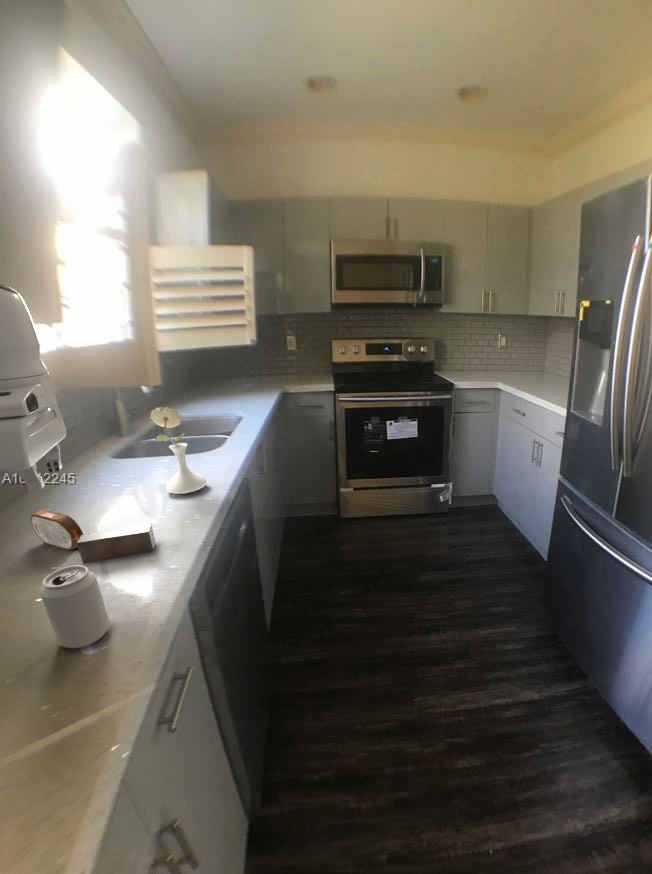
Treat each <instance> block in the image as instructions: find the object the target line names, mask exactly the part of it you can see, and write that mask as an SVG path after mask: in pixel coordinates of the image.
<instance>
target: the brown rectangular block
mask: <svg viewBox="0 0 652 874" xmlns="http://www.w3.org/2000/svg"><path fill="white" fill-rule="evenodd" d="M154 533H155V532H154V530H153V525H152V523H147V524H142V525H135V526H129V527H122V528H117V529H116V528H115V529H110V530H103V531H96V532H89V533H83V535H81V537H80V538H79V540H78V541H77V546H78V547H77V549H78V552H79V556H80V558H81V561H82V564H87V563H92V562H93V563H94V562H99V561H104V560H111V559H115V558H122V557H128V556H134V555H139V554H145V553H151V552H155V548H156V544H157V542H156V538H155V534H154Z"/></svg>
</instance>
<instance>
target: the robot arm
mask: <svg viewBox="0 0 652 874" xmlns="http://www.w3.org/2000/svg"><path fill="white" fill-rule="evenodd" d="M57 402H58V400H57V396H56V393H55V389H54V386H53V382H52V379H51V376H50V373H49V369H48V368H47V366H46V365H45V363H44V361H43V359H42V357H41V343H40V339H39V336H38V333H37V330H36V327H35V324H34V322H33V319H32V316H31V314H30V311H29V309H28V306H27V304H26V303H25V300H24V299H23V297H22V296H21V295H20V293H19V292H18V291H17V290H15V289H14V288H12V287H11V286H8V285H5V284H1V283H0V471H1V472H3V473H9V472H16V474H17V475H18V476H19V477H20V478H21V479H22V481H23V482H24V483H25V487H26V488H27V490H28V491H29V492H31V493H34V492H40V491H41V490H42V489H43V488H44V487H45V483H44V479H43V476H40V475H39V473H38V471H37V469H38V468H37V462H39V460H41V459H42V458H43V457H44V456H45V458H46V461H45V465H46V468H47V471H48V472H49V473H55V472H59V471H61V469H62V468H63V464H62V461H61V446H60V443H61V442H62V440H64V439H65V438H66V437H67V426H66V425H65V420H64V419H63V416H62V413H61V410H60V408H59V406H58V405H59V404H58V403H57Z"/></svg>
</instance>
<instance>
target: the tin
mask: <svg viewBox="0 0 652 874" xmlns="http://www.w3.org/2000/svg"><path fill="white" fill-rule="evenodd" d="M29 522H30V524H31V526H32V528H33V530H34V533H35V534H36V536H37V537H38V538H39V540H41V541H42V542H43V543H45V544H47V545H49V546H52V547H55V548H60V549H62V550H66V551H73V550H75V549H76V548H78V546H77V541H78V540H79V538H80V537H81V535H83V534H84V532H83V531H82V529H81V526H80V525H79V524H78V522H77V521H76V520H75V519H74V518H73V517H72V516H70V515H69V514H66V513H62V512H58V511H54V510H52V509H47V508H42V509H40V510H38V511H37V512H34V513H32V514H31V515H30V517H29Z"/></svg>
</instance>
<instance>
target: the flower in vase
mask: <svg viewBox="0 0 652 874" xmlns="http://www.w3.org/2000/svg"><path fill="white" fill-rule="evenodd" d="M149 419H150V420H151V421H152V422H153V423H155V424H156V426H159V427H161V428H163V427H164V429H165V430H164V431H165V434H162V433H160V434H157V436H155V439H154V441H162V442H167V441H168V439H169V440H170V441H171V442H172V443H173V444H171V445H169V446H168V449H170V450H171V451H172V452H173V454H174V455H175V458H176V460H177V467H178V469H177V471H176V473H175V474H174V475H173V476H171V478H170V479H169V480H168V481H167V483H166V484H165V490H166V491H167V492H168V493H170V494H175V495H184V494H189V493H195V492H197V491H198V490H201V489H203V488H204V487H206V485H207V482H208V480H207V479H206V477H204V476H202V475H201V474H199V473H197V472H195V471H193V470H191V469H190V468H189V467H188V464H187V459H186V450H187V447H188V445H189V444H188V443H186V442H178V441H180V440H181V439H183V437H184V436H185V434H186V432H184V433H182V434H180V435H178V436H177V437H176V438H175V439H174V440H173V439H172V438H171V437H170V436H169V434H168V429H169V428H170V429H173V428H174V427H175V428H176V427H178V426H181V422H182V417H181V415H180V414H179V412H178V411H176V410H175V409H173V408H172V409H171V408H170V407H168V406H166V407H164V406H159V407H158V406H157V407H155V409H152V410H151V411H150V417H149ZM177 442H178V443H177Z"/></svg>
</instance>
